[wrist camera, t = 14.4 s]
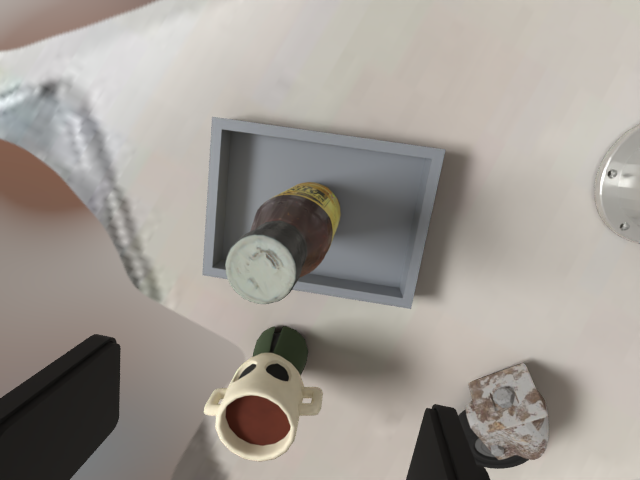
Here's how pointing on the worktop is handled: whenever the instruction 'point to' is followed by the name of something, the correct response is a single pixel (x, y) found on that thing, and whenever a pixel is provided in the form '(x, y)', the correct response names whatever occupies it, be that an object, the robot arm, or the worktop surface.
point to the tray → (351, 191)
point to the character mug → (265, 398)
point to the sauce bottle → (283, 242)
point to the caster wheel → (505, 419)
